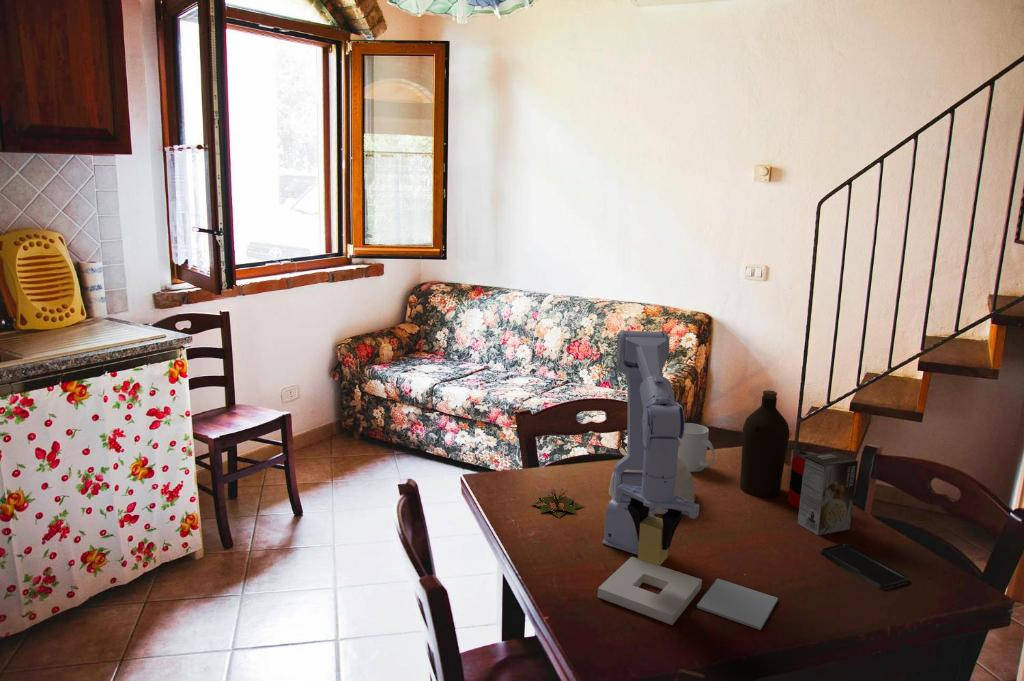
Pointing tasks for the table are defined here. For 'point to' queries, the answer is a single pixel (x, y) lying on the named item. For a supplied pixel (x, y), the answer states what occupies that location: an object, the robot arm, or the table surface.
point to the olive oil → (764, 449)
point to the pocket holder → (659, 606)
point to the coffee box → (827, 492)
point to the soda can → (797, 478)
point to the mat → (738, 603)
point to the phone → (864, 566)
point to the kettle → (682, 484)
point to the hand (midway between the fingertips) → (653, 543)
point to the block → (651, 541)
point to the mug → (695, 447)
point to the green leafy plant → (564, 500)
